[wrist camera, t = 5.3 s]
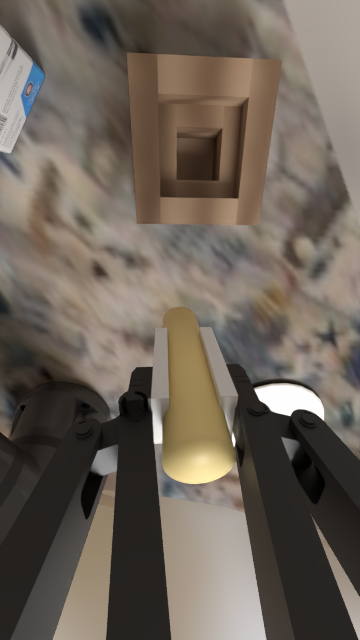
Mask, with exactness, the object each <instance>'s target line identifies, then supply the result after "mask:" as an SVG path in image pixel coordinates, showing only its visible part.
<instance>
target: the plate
mask: <svg viewBox="0 0 360 640" xmlns="http://www.w3.org/2000/svg"><path fill="white" fill-rule="evenodd" d="M254 390H255V392H256V394H257V396H258V398H259V400H260V401H261V402H263V403H265V404H266V405H267V406H268V407H269V408H270V410H271V411H273V412H276V413H279V414H284V415H288V416H291V414H292V412H293V411H294V410H297V409H305V410H308V411H311V412H313V413H315V414H317V415H318V416H319V417H320V418H321V419H322V420H323V421H324V408H323V405H322V403H321V400H320V399H319V398H318V397H317V396H316V395H315V394H314V393H313V392H312V391H311V390H309V389H307V388H305V387H303V386H301V385H296V384H291V383H270V384H266V385H261V386H257V387H254ZM232 442H233V445H234V447H235V437H234V434H232Z"/></svg>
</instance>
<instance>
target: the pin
mask: <svg viewBox="0 0 360 640" xmlns="http://www.w3.org/2000/svg"><path fill="white" fill-rule="evenodd" d="M163 328H167V344H168V380H169V409H168V410H167V411H166V413H165V414H164V417H163V421H162V465H163V469H164V471H165V472H166V473H167V474H168V475H169V476H170V477H171V478H173V479H175V480H177V481H180V482H183V483H189V484H200V483H206V482H210V481H213V480H216V479H218V478H220V477H222V476H224V475H225V474H226V473H228V472H229V471H230V470H231V468H232V467H233V465H234V463H235V461H236V452H235V448H234V445H233V442H232V438H231V435H230V431H229V428H228V425H227V421H226V418H225V414H224V412H223V410H222V408H221V407H220V406H219V402H218V398H217V395H216V391H215V388H214V384H213V381H212V377H211V374H210V370H209V366H208V363H207V359H206V356H205V352H204V349H203V345H202V341H201V338H200V329H199V326H198V323H197V319H196V316H195V314H194V313H193V312H192V311H191V310H190V309H188V308H185V307H175V308H172V309H171V310H169V311H168V312H167V313H166V314H165V316H164V318H163Z"/></svg>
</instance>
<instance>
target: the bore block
mask: <svg viewBox="0 0 360 640" xmlns="http://www.w3.org/2000/svg"><path fill="white" fill-rule="evenodd" d="M281 63H282V60H271V59H251V58H230V57H210V56H190V55H169V54H149V53H128V52H127V66H128V83H129V100H130V116H131V133H132V150H133V167H134V184H135V200H136V217H137V224H223V225H259V218H260V211H261V204H262V197H263V190H264V183H265V176H266V169H267V162H268V155H269V148H270V141H271V134H272V126H273V119H274V112H275V105H276V98H277V91H278V84H279V77H280V70H281Z"/></svg>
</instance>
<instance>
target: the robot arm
mask: <svg viewBox="0 0 360 640" xmlns="http://www.w3.org/2000/svg"><path fill="white" fill-rule="evenodd" d="M200 338H201V341H202V345H203V349H204V352H205V356H206V359H207V363H208V366H209V370H210V374H211V377H212V381H213V384H214V388H215V391H216V395H217V398H218V402H219V406H220V407H221V408H222V410H223V412H224V414H225V418H226V421H227V425H228V428H229V431H230V435H231V438H232V434H234V437H235V447H234V448H235V452H236V461H237V467H238V473H239V479H240V485H241V491H242V497H243V503H244V509H245V514H246V520H247V525H248V532H249V538H250V544H251V549H252V556H253V562H254V568H255V574H256V580H257V586H258V592H259V597H260V603H261V609H262V615H263V621H264V627H265V633H266V638H267V640H358V638H357V635H356V632H355V629H354V627H353V624H352V622H351V619H350V616H349V614H348V611H347V609H346V606H345V603H344V601H343V598H342V596H341V593H340V590H339V588H338V585H337V582H336V580H335V577H334V575H333V572H332V569H331V566H330V564H329V561H328V559H327V556H326V553H325V551H324V548H323V545H322V543H321V540H320V538H319V535H318V532H317V530H316V527H315V524H314V522H313V519H312V517H313V518H314V520H315V522H316V524H317V525H318V527H319V529H320V530H321V532H322V534H323V535H324V537H325V539H326V540H327V542H328V544H329V546H330V547H331V549H332V551H333V552H334V554H335V556H336V557H337V559H338V561H339V563H340V564H341V566H342V568H343V569H344V571H345V573H346V574H347V576H348V578H349V579H350V581H351V583H352V584H353V586H354V588H355V590H356V591H357V593H358V595H359V596H360V460H359V459H358V458H357V457H356V456H355V455H354V454H353V453H352V452H351V451H350V449H349V448H348V447H347V446H346V445H345V444H344V443H343V442H342V441H341V439H340V438H339V437H338V436H337V435H336V434H335V433H334V432H333V431H332V430H331V428H330V427H329V426H328V425H327V424H326V423H325V422H324V421H323V420H322V419H321V418H320V417H319V416H318V415H317V414H315V413H313V412H311V411H308V410H305V409H297V410H294V411H293V412H292V414H291V416H288V415H284V414H279V413H276V412H273V411H271V410H270V408H269V407H268V406H267V405H266V404H265V403H263V402H261V401H260V400H259V398H258V396H257V394H256V392H255V390H254V388H253V386H252V384H251V382H250V380H249V378H248V376H247V374H246V372H245V370H244V369H243V368H242V367H241V366H240V365H239V364H225V361H224V359H223V356H222V353H221V351H220V348H219V346H218V343H217V341H216V338H215V336H214V333H213V331H212V328H211V327H200ZM118 403H119V411H120V415H119V416H118V417H116V418H115V419H113V420H110V412H109V409H108V407H107V405H106V404H105V402H104V401H103V400H102V399H101V398H100V397H99V396H98V395H97V394H95V393H94V392H92V391H91V390H89V389H87V388H85V387H82V386H79V385H76V384H72V383H64V382H54V383H47V384H43V385H40V386H38V387H36V388H34V389H32V390H31V391H30V392H29V393H28V394H27V395H26V396H25V397H24V398H23V400H22V401H21V403H20V404H19V405H18V407H17V409H16V411H15V414H14V417H13V421H12V425H11V428H10V432H9V436H8V438H7V437H5V436H4V435H3V434H2V433H0V640H52V639H53V636H54V634H55V631H56V628H57V625H58V622H59V619H60V616H61V613H62V610H63V607H64V603H65V601H66V598H67V595H68V592H69V589H70V586H71V583H72V580H73V577H74V574H75V571H76V568H77V565H78V562H79V559H80V556H81V553H82V550H83V547H84V544H85V541H86V538H87V535H88V532H89V529H90V526H91V523H92V520H93V518H94V515H95V512H96V508H97V506H98V503H99V500H100V497H101V494H102V491H103V488H104V485H105V482H106V479H107V476H108V474H109V473H111V472H114V471H116V470H117V476H116V492H115V508H114V524H113V541H112V555H111V573H110V588H109V604H108V621H107V636H106V640H171V632H170V622H169V609H168V598H167V587H166V576H165V563H164V552H163V540H162V529H161V518H160V506H159V495H158V483H157V472H156V460H155V449H154V443H162V421H163V417H164V414H165V413H166V411H167V410H168V409H169V380H168V344H167V328H156V330H155V345H154V360H153V367H136V369H135V370H134V371H133V372H132V374H131V379H130V384H129V389H128V391H127V392H125V393H124V394H123V395H122V396H121V397H120V399H119V401H118ZM310 513H311V514H310ZM311 515H312V517H311Z"/></svg>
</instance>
